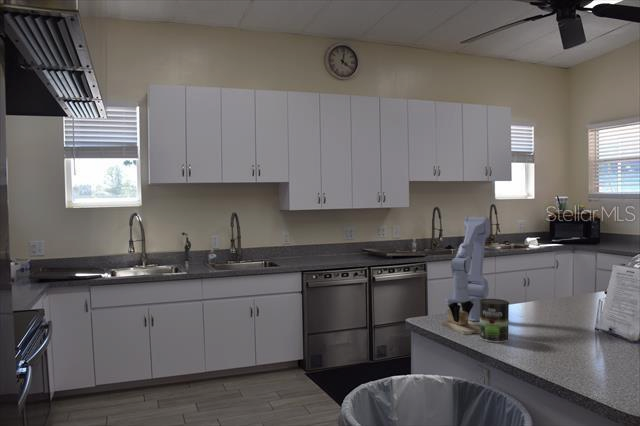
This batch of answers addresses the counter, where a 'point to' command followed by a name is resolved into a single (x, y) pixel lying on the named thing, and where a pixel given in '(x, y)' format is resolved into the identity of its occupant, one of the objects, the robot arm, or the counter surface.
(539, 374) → the counter surface
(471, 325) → the board
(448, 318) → the block
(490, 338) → the coffee can
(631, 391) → the counter surface
